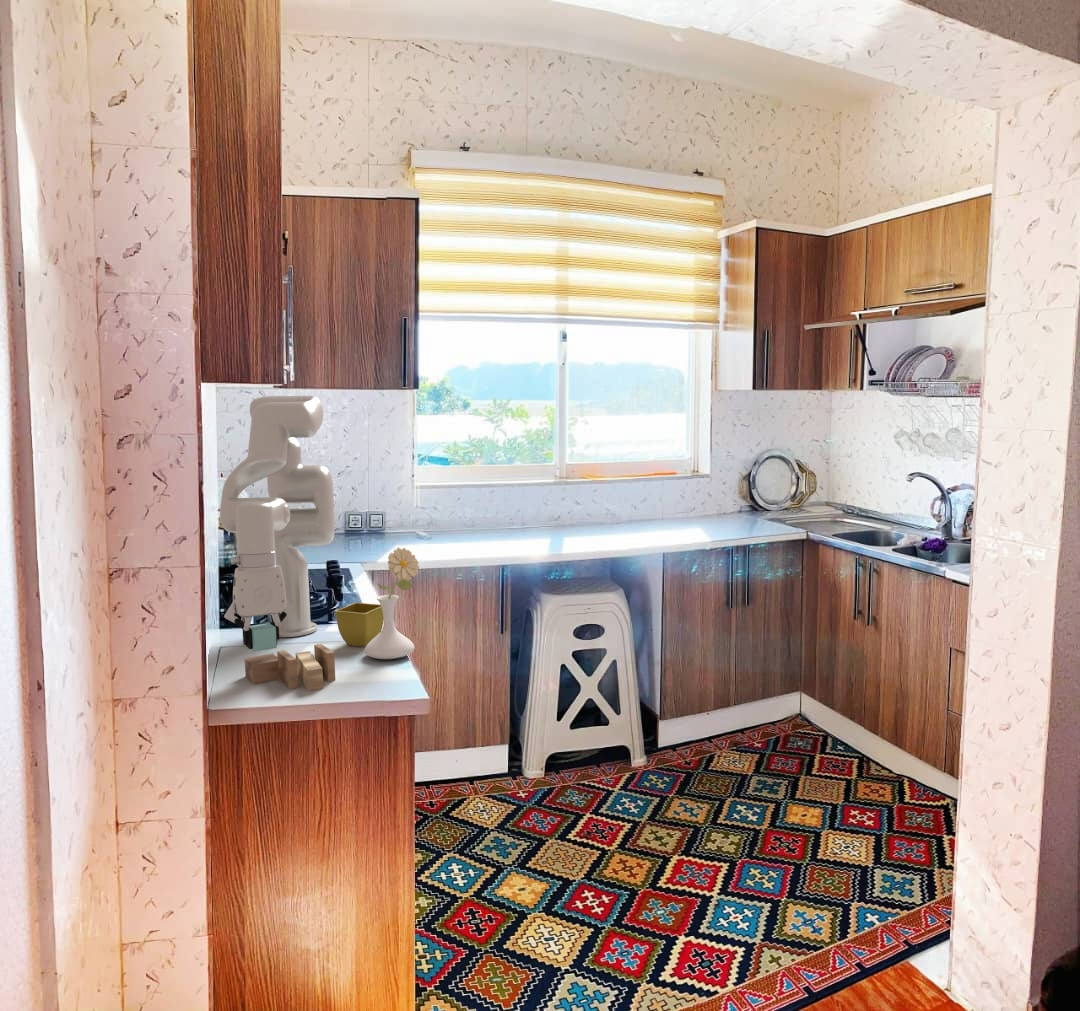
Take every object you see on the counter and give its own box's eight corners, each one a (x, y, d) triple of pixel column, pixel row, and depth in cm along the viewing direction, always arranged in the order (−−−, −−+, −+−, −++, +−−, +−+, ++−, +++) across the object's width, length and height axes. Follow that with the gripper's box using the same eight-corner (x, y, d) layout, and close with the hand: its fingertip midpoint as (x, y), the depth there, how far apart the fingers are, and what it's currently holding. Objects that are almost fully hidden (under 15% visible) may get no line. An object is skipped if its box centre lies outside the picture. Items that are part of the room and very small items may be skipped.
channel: (278, 679, 181) (277, 651, 180) (322, 670, 186) (320, 643, 185) (290, 688, 174) (289, 660, 174) (335, 679, 180) (334, 652, 179)
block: (249, 647, 181) (247, 626, 181) (270, 643, 184) (269, 623, 183) (255, 651, 177) (253, 630, 177) (276, 648, 180) (275, 627, 179)
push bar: (296, 673, 186) (295, 652, 185) (310, 671, 187) (309, 651, 186) (308, 692, 173) (307, 670, 172) (323, 689, 174) (322, 668, 174)
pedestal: (245, 676, 183) (244, 658, 182) (273, 671, 186) (272, 653, 186) (253, 683, 178) (252, 665, 178) (282, 678, 181) (281, 659, 181)
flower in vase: (370, 666, 189) (365, 554, 186) (360, 652, 199) (355, 547, 196) (427, 658, 194) (423, 549, 191) (415, 646, 204) (411, 542, 201)
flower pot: (367, 650, 201) (365, 613, 200) (335, 647, 205) (334, 610, 203) (387, 640, 209) (385, 604, 208) (356, 637, 213) (355, 602, 212)
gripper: (219, 567, 171) (225, 656, 173) (302, 558, 181) (306, 642, 183) (210, 562, 178) (215, 648, 180) (291, 554, 187) (295, 635, 189)
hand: (261, 644), depth 181 cm, fingers closed on block, 4 cm apart
